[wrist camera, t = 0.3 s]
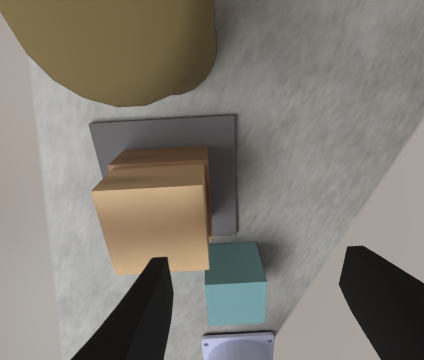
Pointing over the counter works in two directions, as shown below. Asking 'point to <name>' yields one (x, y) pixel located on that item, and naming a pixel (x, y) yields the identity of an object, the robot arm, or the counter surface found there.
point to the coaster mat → (180, 137)
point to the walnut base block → (168, 164)
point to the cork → (118, 45)
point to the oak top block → (154, 217)
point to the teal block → (235, 284)
